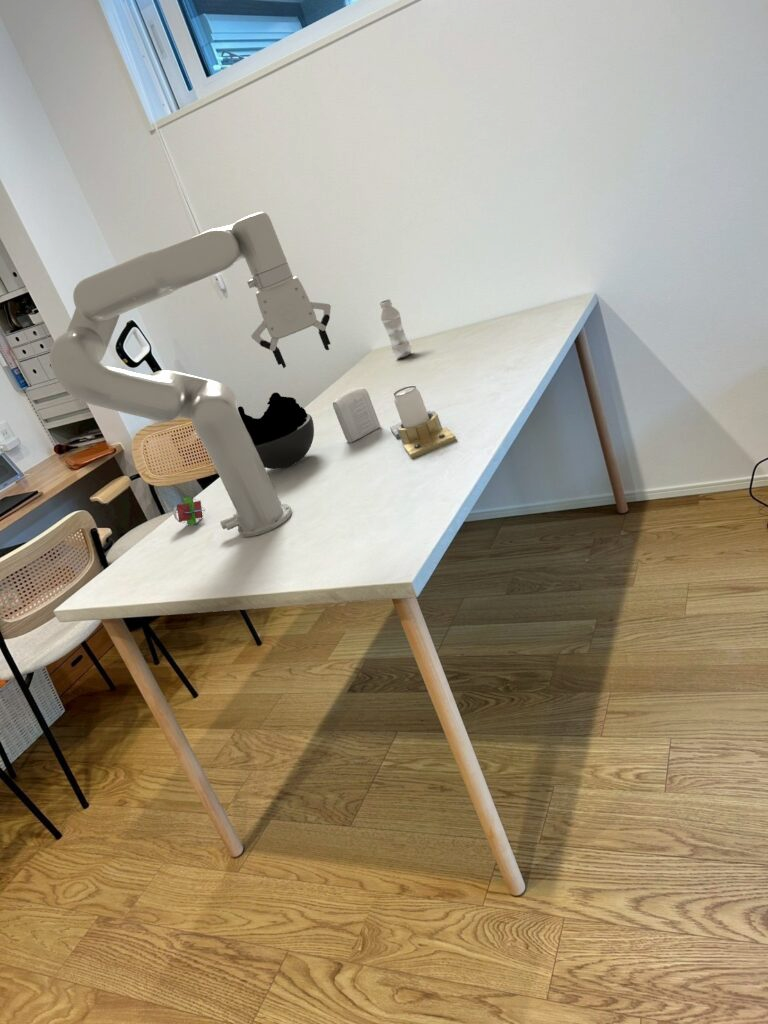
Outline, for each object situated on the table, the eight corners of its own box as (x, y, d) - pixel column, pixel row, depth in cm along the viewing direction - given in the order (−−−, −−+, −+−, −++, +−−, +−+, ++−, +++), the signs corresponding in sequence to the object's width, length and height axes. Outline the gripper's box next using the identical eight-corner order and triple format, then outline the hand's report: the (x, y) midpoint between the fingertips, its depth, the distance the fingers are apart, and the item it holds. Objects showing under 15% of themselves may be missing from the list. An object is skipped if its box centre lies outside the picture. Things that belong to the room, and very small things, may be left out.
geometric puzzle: (200, 503, 197) (173, 491, 192) (215, 503, 192) (189, 491, 187) (190, 530, 195) (163, 518, 190) (206, 531, 190) (179, 519, 185)
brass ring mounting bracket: (411, 459, 177) (405, 443, 176) (391, 431, 201) (386, 417, 200) (456, 440, 177) (451, 424, 176) (431, 414, 201) (426, 400, 200)
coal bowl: (340, 444, 207) (313, 378, 200) (293, 480, 194) (263, 411, 187) (287, 450, 220) (260, 388, 213) (240, 485, 206) (209, 420, 199)
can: (404, 443, 189) (387, 398, 184) (415, 432, 193) (399, 387, 189) (427, 440, 185) (410, 393, 180) (438, 428, 190) (422, 382, 185)
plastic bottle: (392, 360, 274) (372, 305, 267) (408, 352, 276) (389, 297, 268) (400, 361, 268) (379, 305, 261) (416, 353, 270) (397, 297, 263)
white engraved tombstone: (375, 425, 211) (358, 382, 207) (383, 426, 208) (367, 383, 203) (344, 442, 207) (327, 399, 203) (352, 443, 204) (334, 400, 199)
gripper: (233, 295, 153) (267, 376, 160) (315, 262, 154) (346, 344, 160) (233, 292, 160) (266, 370, 167) (311, 261, 161) (342, 340, 167)
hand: (305, 357), depth 164 cm, fingers open, 9 cm apart
